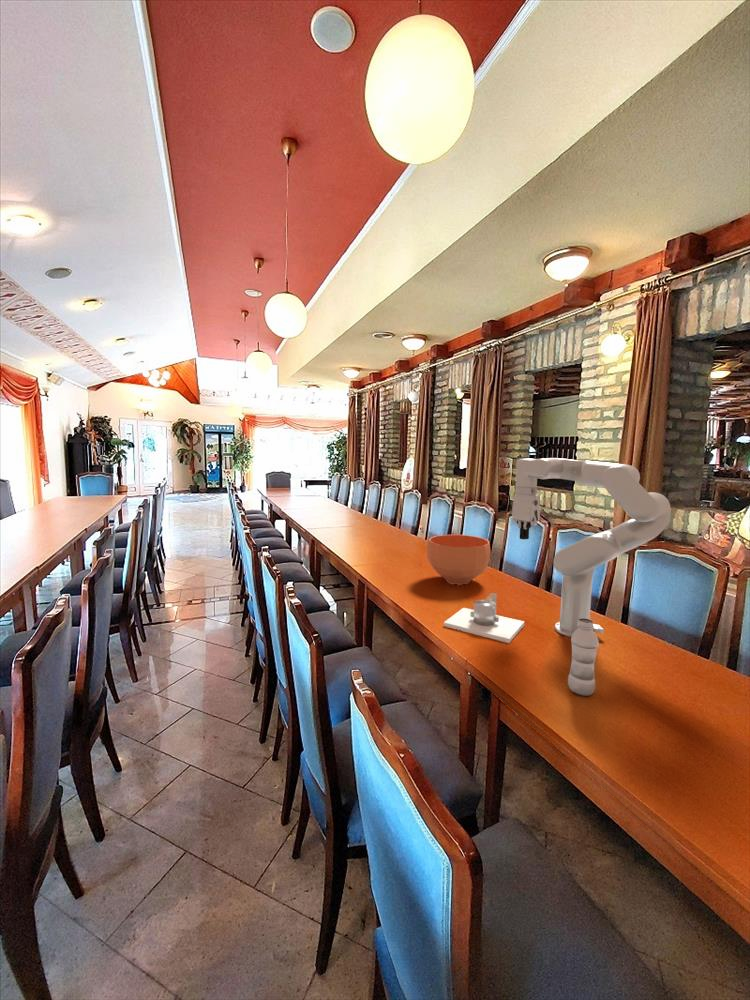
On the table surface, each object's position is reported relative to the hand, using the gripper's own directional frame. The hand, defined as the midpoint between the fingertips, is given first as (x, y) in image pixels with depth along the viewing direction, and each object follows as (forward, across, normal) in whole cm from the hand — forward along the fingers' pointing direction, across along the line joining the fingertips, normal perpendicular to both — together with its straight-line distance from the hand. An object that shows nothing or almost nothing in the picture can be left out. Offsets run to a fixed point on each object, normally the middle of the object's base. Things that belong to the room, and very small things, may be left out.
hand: (524, 538), depth 165 cm
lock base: (+30, -1, +20) cm, 36 cm away
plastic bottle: (+31, -46, +27) cm, 62 cm away
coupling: (+29, +2, +16) cm, 33 cm away
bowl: (+30, +46, -6) cm, 55 cm away
